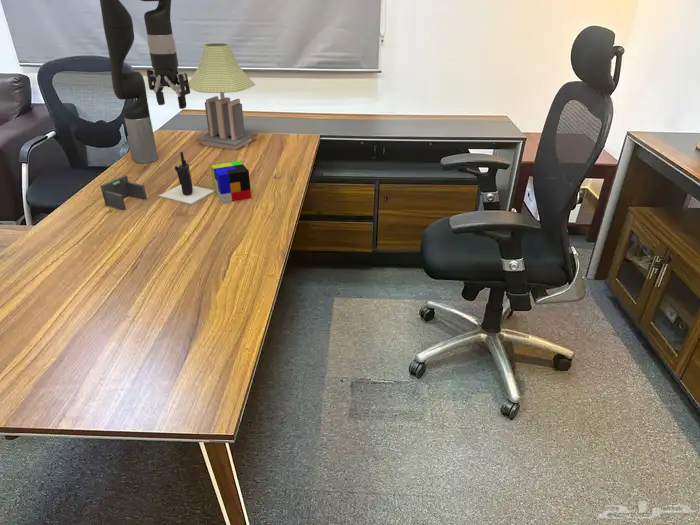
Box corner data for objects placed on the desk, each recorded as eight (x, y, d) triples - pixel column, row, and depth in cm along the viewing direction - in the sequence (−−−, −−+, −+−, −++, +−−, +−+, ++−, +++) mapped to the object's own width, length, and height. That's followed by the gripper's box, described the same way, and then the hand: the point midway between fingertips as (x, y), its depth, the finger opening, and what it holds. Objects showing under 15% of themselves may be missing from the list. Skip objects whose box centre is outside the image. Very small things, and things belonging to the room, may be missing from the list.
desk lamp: (183, 147, 210) (166, 46, 189) (221, 130, 232) (210, 38, 211) (234, 156, 202) (222, 52, 181) (269, 137, 224) (262, 42, 203)
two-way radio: (192, 195, 166) (185, 153, 158) (178, 196, 166) (170, 153, 158) (193, 189, 171) (186, 147, 163) (180, 190, 170) (173, 148, 162)
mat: (159, 197, 166) (158, 195, 166) (183, 184, 176) (183, 183, 175) (191, 205, 161) (190, 203, 161) (214, 192, 171) (214, 190, 170)
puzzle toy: (222, 203, 163) (218, 175, 158) (214, 192, 171) (211, 165, 165) (251, 198, 167) (248, 170, 162) (242, 187, 175) (239, 161, 169)
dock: (105, 205, 160) (100, 185, 157) (129, 194, 168) (124, 175, 164) (123, 210, 157) (118, 190, 154) (146, 198, 165) (142, 179, 161)
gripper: (135, 50, 144) (146, 106, 152) (172, 54, 139) (181, 112, 147) (154, 47, 150) (163, 101, 158) (190, 51, 145) (198, 106, 153)
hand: (172, 106), depth 153 cm, fingers open, 8 cm apart
